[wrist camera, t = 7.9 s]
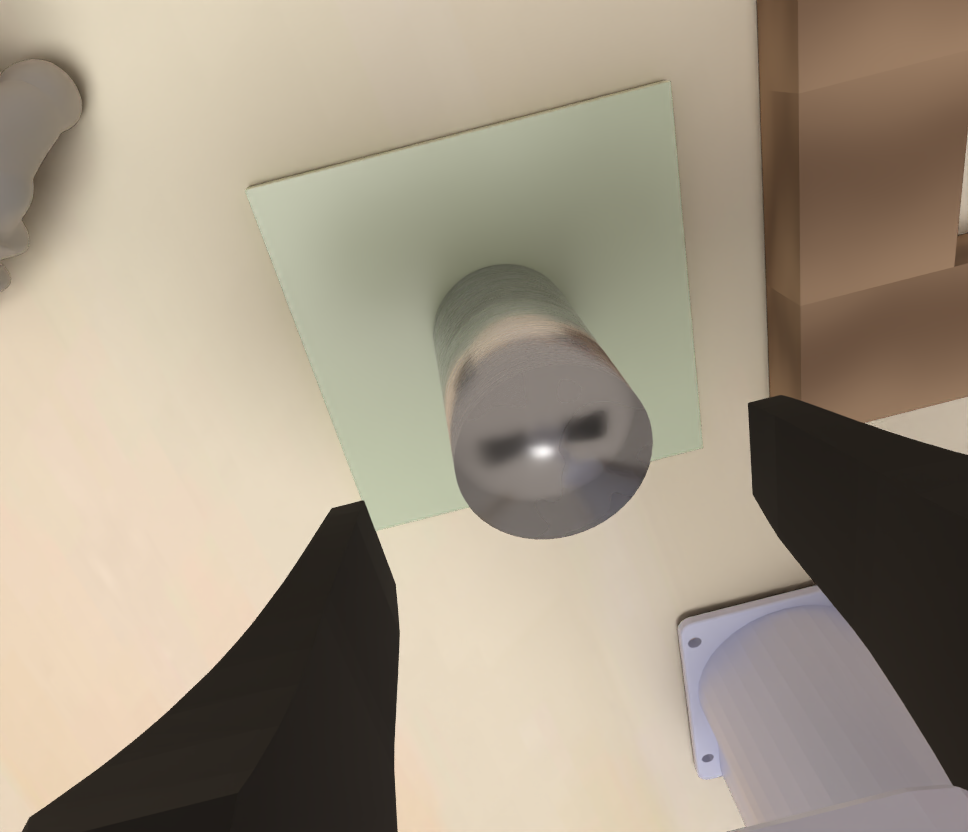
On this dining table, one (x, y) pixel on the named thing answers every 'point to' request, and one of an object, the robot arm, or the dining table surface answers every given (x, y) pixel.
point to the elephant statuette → (28, 141)
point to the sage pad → (477, 244)
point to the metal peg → (535, 407)
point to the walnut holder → (865, 202)
